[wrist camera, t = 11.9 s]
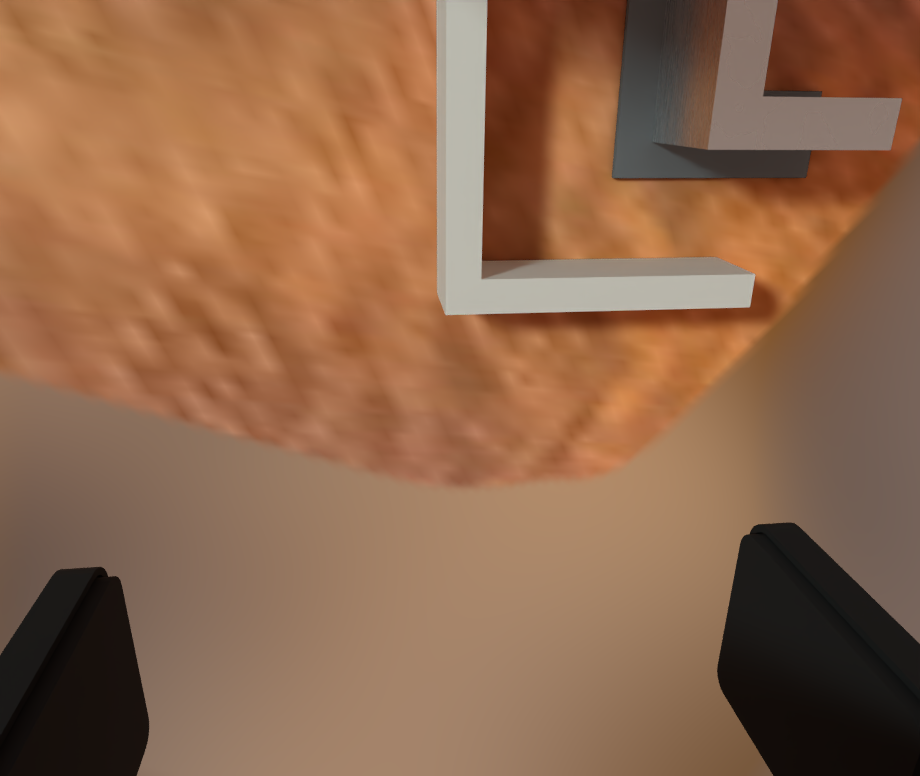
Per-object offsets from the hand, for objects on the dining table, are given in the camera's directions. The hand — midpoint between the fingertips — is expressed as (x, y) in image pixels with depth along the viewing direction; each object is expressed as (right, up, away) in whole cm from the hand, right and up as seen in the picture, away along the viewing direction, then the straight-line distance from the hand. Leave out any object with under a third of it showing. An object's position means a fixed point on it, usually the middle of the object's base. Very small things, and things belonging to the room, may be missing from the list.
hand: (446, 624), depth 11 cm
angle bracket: (+13, +20, +22) cm, 33 cm away
